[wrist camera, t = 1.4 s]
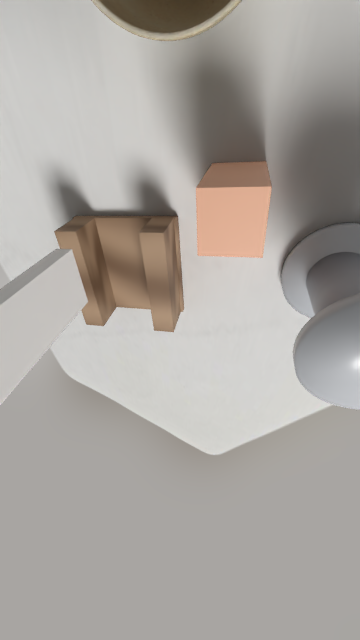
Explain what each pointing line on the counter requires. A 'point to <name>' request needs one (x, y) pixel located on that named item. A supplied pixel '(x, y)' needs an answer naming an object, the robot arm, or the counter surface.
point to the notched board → (127, 265)
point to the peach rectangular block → (233, 209)
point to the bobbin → (327, 312)
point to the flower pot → (166, 16)
